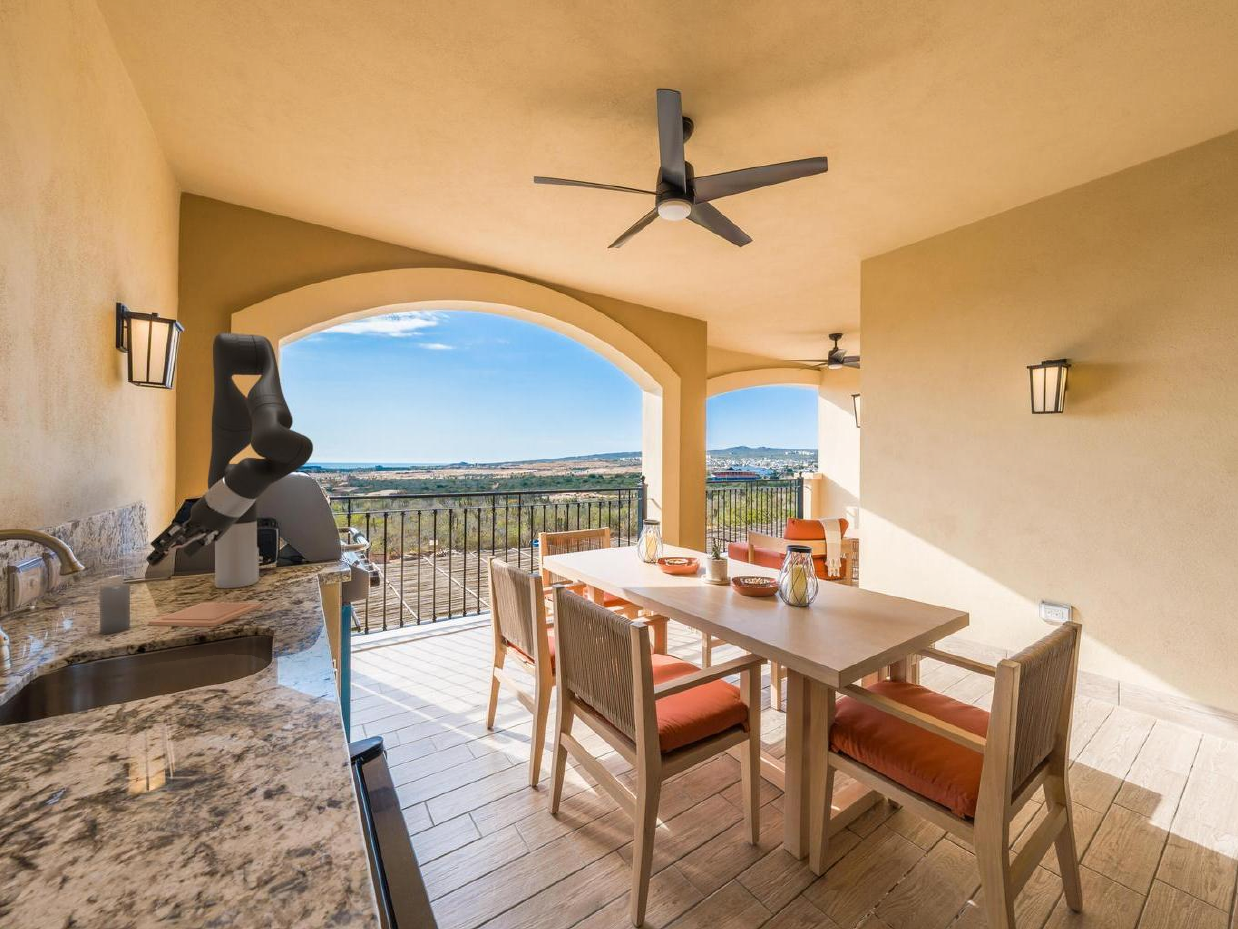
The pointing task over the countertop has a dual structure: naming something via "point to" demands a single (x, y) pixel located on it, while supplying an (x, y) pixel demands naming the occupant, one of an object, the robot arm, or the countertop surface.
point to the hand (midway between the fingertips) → (169, 558)
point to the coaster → (205, 614)
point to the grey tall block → (114, 606)
